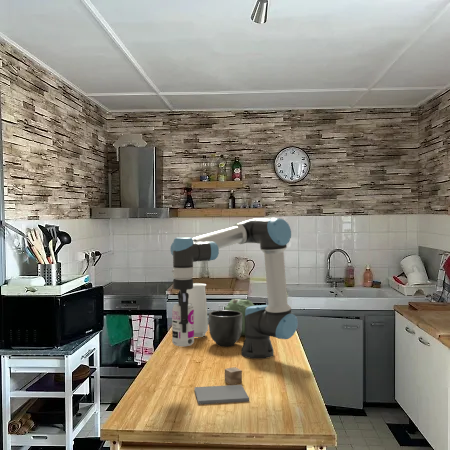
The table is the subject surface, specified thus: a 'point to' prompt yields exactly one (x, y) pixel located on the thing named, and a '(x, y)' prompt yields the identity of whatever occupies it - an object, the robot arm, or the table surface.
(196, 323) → the vase
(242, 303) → the cabbage
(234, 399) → the slate board
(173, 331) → the supplement can
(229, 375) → the walnut block
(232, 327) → the planter
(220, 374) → the table surface
